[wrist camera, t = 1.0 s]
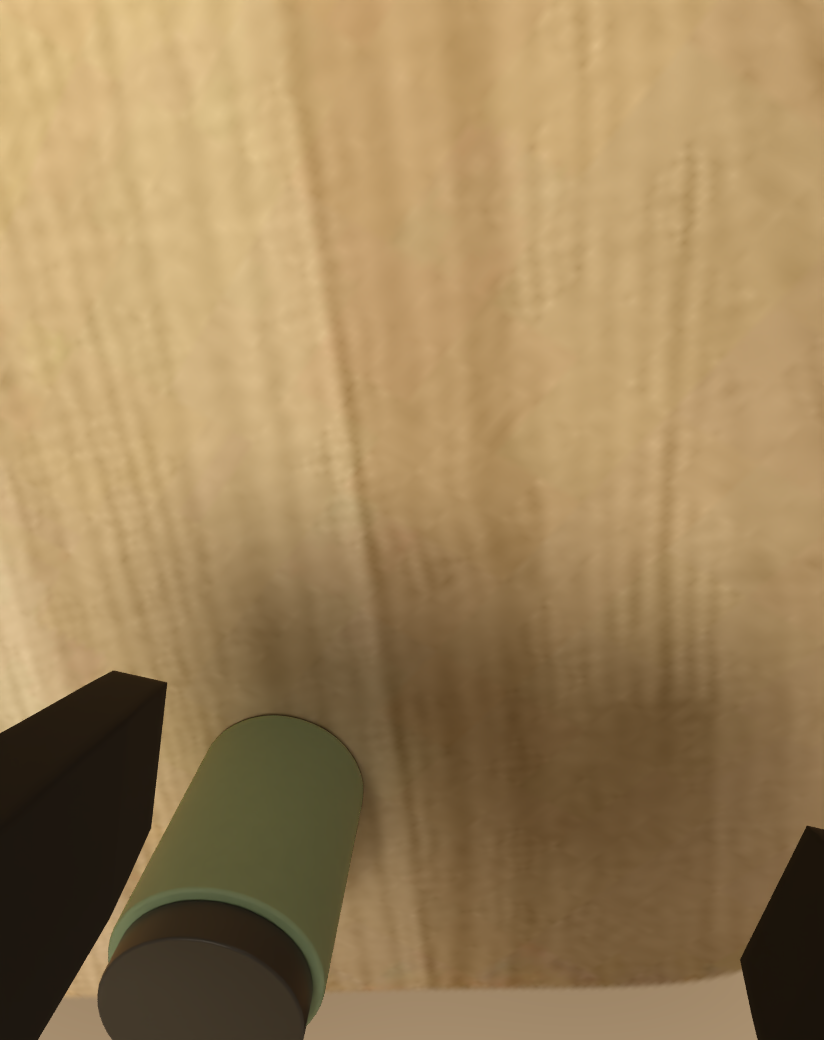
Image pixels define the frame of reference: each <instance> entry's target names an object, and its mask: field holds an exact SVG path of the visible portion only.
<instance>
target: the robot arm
mask: <svg viewBox="0 0 824 1040" xmlns="http://www.w3.org/2000/svg"><path fill="white" fill-rule="evenodd" d="M166 689H167V682H163V681H158V680H154V679H149V678H145V677H140V676H136V675H131V674H127V673H122V672H118V671H111V672H110V673H108V674H106V675H104V676H102V677H100V678H98V679H96V680H94V681H93V682H91V683H89V684H87V685H85V686H84V687H82V688H80V689H78V690H76V691H75V692H73V693H71V694H69V695H68V696H66V697H64V698H62V699H61V700H59V701H57V702H55V703H54V704H52V705H50V706H48V707H46V708H45V709H43V710H41V711H39V712H38V713H36V714H34V715H32V716H30V717H29V718H27V719H25V720H23V721H22V722H20V723H18V724H16V725H14V726H13V727H11V728H9V729H7V730H5V731H4V732H2V733H0V1040H38V1039H39V1037H40V1035H41V1034H42V1032H43V1030H44V1028H45V1027H46V1025H47V1024H48V1022H49V1020H50V1018H51V1017H52V1015H53V1013H54V1012H55V1010H56V1008H57V1007H58V1005H59V1003H60V1002H61V1000H62V998H63V997H64V995H65V993H66V992H67V990H68V988H69V987H70V985H71V983H72V982H73V980H74V978H75V976H76V975H77V973H78V971H79V970H80V968H81V966H82V965H83V963H84V961H85V960H86V958H87V956H88V954H89V953H90V951H91V949H92V948H93V946H94V944H95V943H96V941H97V939H98V937H99V936H100V934H101V932H102V931H103V929H104V927H105V925H106V924H107V922H108V920H109V918H110V917H111V915H112V912H113V910H114V908H115V906H116V904H117V902H118V900H119V897H120V895H121V893H122V891H123V889H124V887H125V885H126V882H127V880H128V878H129V876H130V874H131V872H132V869H133V867H134V865H135V863H136V860H137V858H138V856H139V854H140V851H141V849H142V847H143V845H144V843H145V840H146V838H147V836H148V834H149V831H150V829H151V824H152V815H153V806H154V797H155V788H156V779H157V770H158V761H159V752H160V743H161V734H162V725H163V716H164V707H165V698H166ZM740 961H741V966H742V971H743V976H744V980H745V985H746V990H747V995H748V999H749V1005H750V1009H751V1014H752V1018H753V1022H754V1026H755V1030H756V1035H757V1038H758V1040H824V829H819V828H815V827H810V826H807V827H806V829H805V831H804V833H803V835H802V837H801V839H800V841H799V843H798V845H797V847H796V849H795V851H794V853H793V855H792V857H791V859H790V861H789V863H788V865H787V867H786V869H785V871H784V873H783V875H782V877H781V879H780V881H779V883H778V885H777V887H776V889H775V891H774V893H773V895H772V897H771V899H770V901H769V903H768V905H767V907H766V909H765V911H764V913H763V915H762V917H761V919H760V921H759V923H758V925H757V927H756V929H755V931H754V933H753V935H752V937H751V939H750V941H749V943H748V945H747V947H746V949H745V951H744V953H743V955H742V957H741V959H740Z"/></svg>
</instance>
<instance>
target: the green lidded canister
mask: <svg viewBox="0 0 824 1040" xmlns="http://www.w3.org/2000/svg"><path fill="white" fill-rule="evenodd" d="M362 800H363V783H362V777H361V774H360V771H359V768H358V766H357V764H356V762H355V760H354V758H353V757H352V755H351V754H350V752H349V751H348V749H347V748H346V747H345V746H344V745H343V744H342V743H341V742H340V741H339V740H338V739H337V738H336V737H334V736H333V735H332V734H330V733H329V732H327V731H326V730H325V729H323V728H321V727H319V726H317V725H315V724H313V723H310V722H308V721H305V720H301V719H298V718H294V717H288V716H277V715H270V716H260V717H255V718H250V719H247V720H244V721H242V722H239V723H237V724H235V725H233V726H231V727H230V728H228V729H227V730H225V731H224V732H223V733H222V734H221V735H220V736H218V737H217V738H216V740H215V741H214V742H213V743H212V745H211V746H210V748H209V750H208V751H207V753H206V755H205V757H204V759H203V761H202V763H201V765H200V766H199V768H198V770H197V772H196V774H195V776H194V778H193V780H192V782H191V783H190V785H189V787H188V789H187V791H186V793H185V795H184V797H183V799H182V800H181V802H180V804H179V806H178V808H177V810H176V812H175V814H174V816H173V817H172V819H171V821H170V823H169V825H168V827H167V829H166V831H165V833H164V834H163V836H162V838H161V840H160V842H159V844H158V846H157V848H156V850H155V851H154V853H153V855H152V857H151V859H150V861H149V863H148V865H147V867H146V868H145V870H144V872H143V874H142V876H141V878H140V880H139V882H138V884H137V885H136V887H135V889H134V891H133V893H132V895H131V897H130V899H129V900H128V902H127V904H126V906H125V908H124V910H123V912H122V914H121V916H120V917H119V919H118V921H117V923H116V925H115V927H114V929H113V932H112V934H111V937H110V942H109V948H108V965H107V967H106V969H105V971H104V973H103V975H102V978H101V981H100V983H99V989H98V1009H99V1014H100V1017H101V1020H102V1023H103V1025H104V1027H105V1029H106V1031H107V1033H108V1034H109V1036H110V1037H111V1039H112V1040H303V1038H304V1034H305V1029H306V1026H307V1025H308V1024H309V1023H310V1021H311V1020H312V1019H313V1017H314V1016H315V1015H316V1013H317V1011H318V1009H319V1007H320V1006H321V1003H322V1000H323V997H324V993H325V988H326V983H327V978H328V973H329V968H330V963H331V958H332V952H333V947H334V942H335V937H336V932H337V927H338V922H339V917H340V912H341V907H342V902H343V897H344V892H345V887H346V882H347V877H348V872H349V867H350V862H351V856H352V851H353V846H354V841H355V836H356V831H357V826H358V821H359V816H360V811H361V806H362Z"/></svg>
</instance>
